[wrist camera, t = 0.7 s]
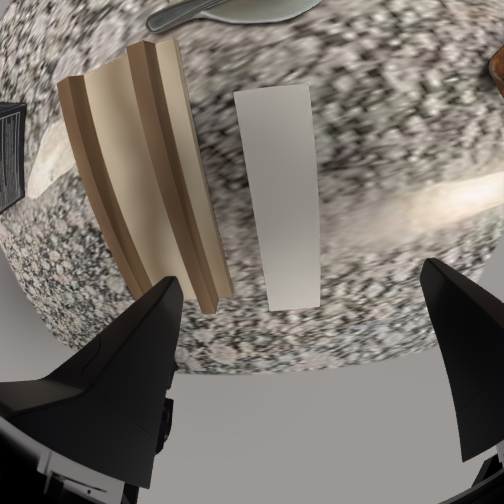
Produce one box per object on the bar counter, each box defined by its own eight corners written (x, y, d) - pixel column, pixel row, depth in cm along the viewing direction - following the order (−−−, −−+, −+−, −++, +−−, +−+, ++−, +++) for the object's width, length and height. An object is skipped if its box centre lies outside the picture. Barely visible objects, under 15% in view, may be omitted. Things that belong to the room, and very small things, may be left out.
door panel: (269, 240, 23) (269, 311, 16) (246, 91, 16) (233, 92, 9) (305, 236, 22) (319, 306, 16) (290, 86, 16) (308, 83, 9)
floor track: (142, 295, 27) (132, 315, 24) (68, 86, 15) (45, 90, 12) (233, 289, 26) (230, 312, 23) (177, 40, 14) (162, 33, 11)
